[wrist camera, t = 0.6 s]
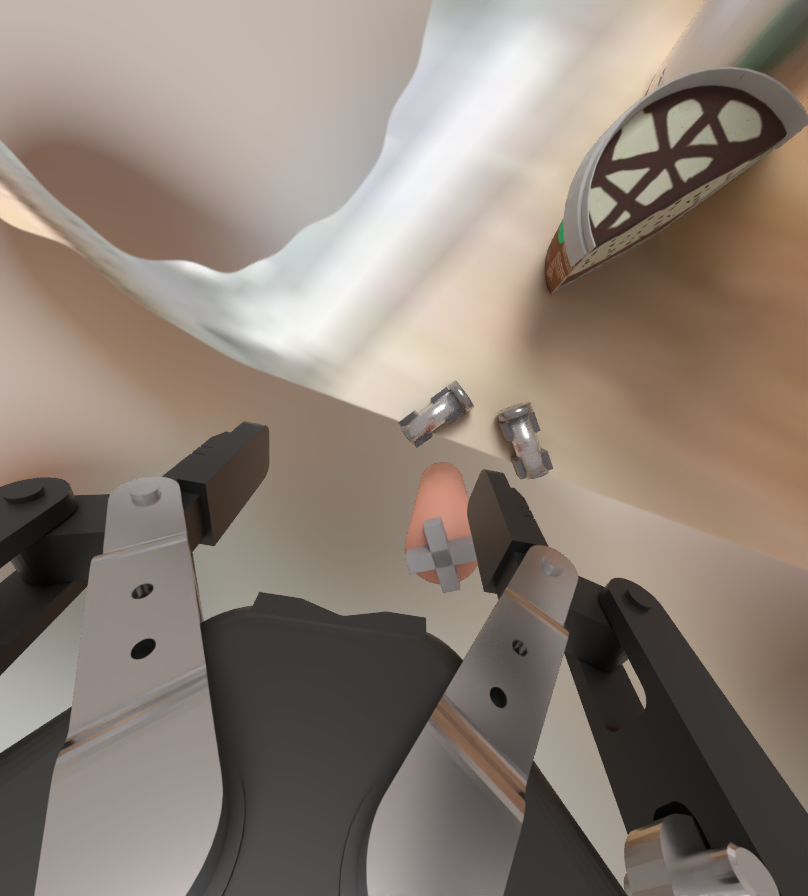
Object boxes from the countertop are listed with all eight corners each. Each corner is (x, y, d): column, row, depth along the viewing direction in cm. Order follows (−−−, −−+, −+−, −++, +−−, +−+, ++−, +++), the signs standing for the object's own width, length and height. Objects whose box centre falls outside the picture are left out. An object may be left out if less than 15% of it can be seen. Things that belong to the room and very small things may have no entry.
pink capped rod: (457, 457, 31) (471, 513, 16) (468, 497, 31) (491, 587, 17) (415, 468, 31) (393, 531, 17) (427, 507, 32) (415, 601, 17)
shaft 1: (454, 381, 30) (456, 379, 27) (472, 406, 30) (475, 407, 27) (400, 421, 31) (396, 424, 28) (417, 445, 31) (415, 450, 28)
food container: (646, 152, 25) (780, -7, 15) (675, 224, 25) (823, 115, 16) (504, 239, 27) (540, 150, 17) (534, 303, 28) (585, 252, 18)
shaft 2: (494, 412, 30) (500, 414, 27) (524, 401, 29) (534, 401, 26) (516, 475, 30) (524, 483, 27) (546, 465, 30) (558, 472, 27)
